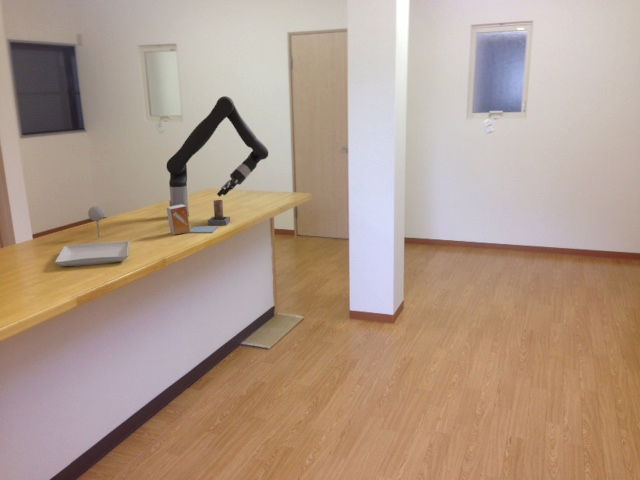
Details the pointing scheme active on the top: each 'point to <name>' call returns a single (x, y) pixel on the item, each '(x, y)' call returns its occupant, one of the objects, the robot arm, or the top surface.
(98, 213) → the lollipop
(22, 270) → the top surface
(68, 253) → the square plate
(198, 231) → the mat
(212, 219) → the socket
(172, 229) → the small box
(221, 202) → the plug
